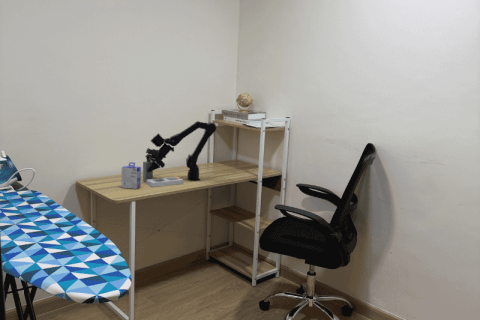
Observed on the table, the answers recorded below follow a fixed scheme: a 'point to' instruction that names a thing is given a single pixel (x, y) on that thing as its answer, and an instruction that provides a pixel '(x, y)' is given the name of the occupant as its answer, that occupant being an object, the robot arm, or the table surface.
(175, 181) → the power strip
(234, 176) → the table surface
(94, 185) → the table surface
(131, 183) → the ink cartridge box
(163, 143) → the robot arm
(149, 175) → the block
